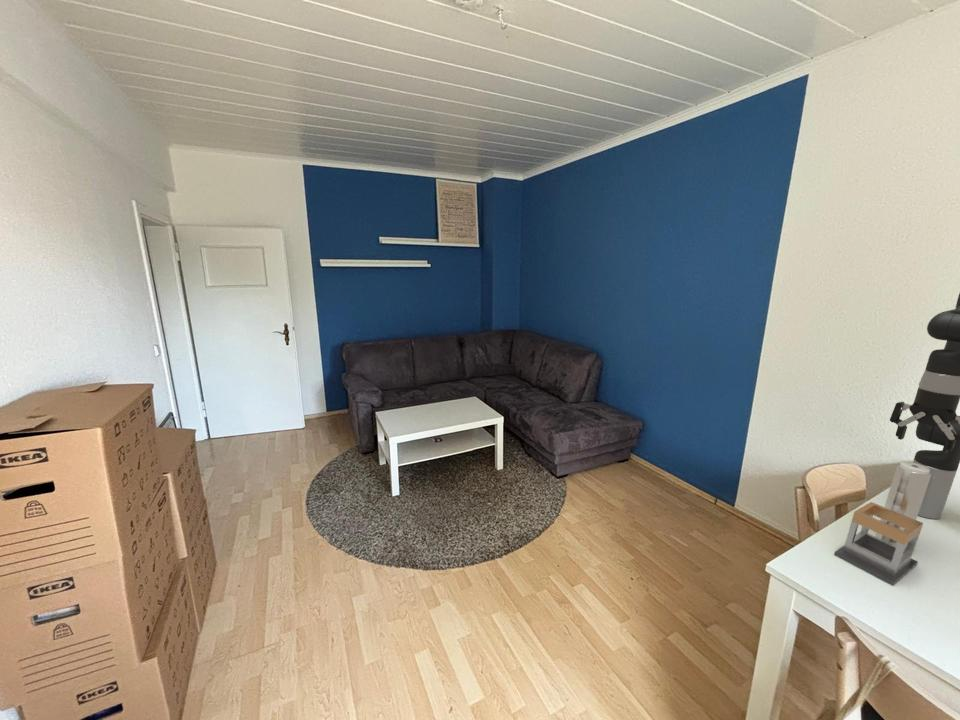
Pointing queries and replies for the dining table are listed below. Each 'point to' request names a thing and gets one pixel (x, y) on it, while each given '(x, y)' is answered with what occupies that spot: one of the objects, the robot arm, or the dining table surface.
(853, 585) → the dining table surface
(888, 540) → the grey cylinder
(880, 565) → the collar stand
